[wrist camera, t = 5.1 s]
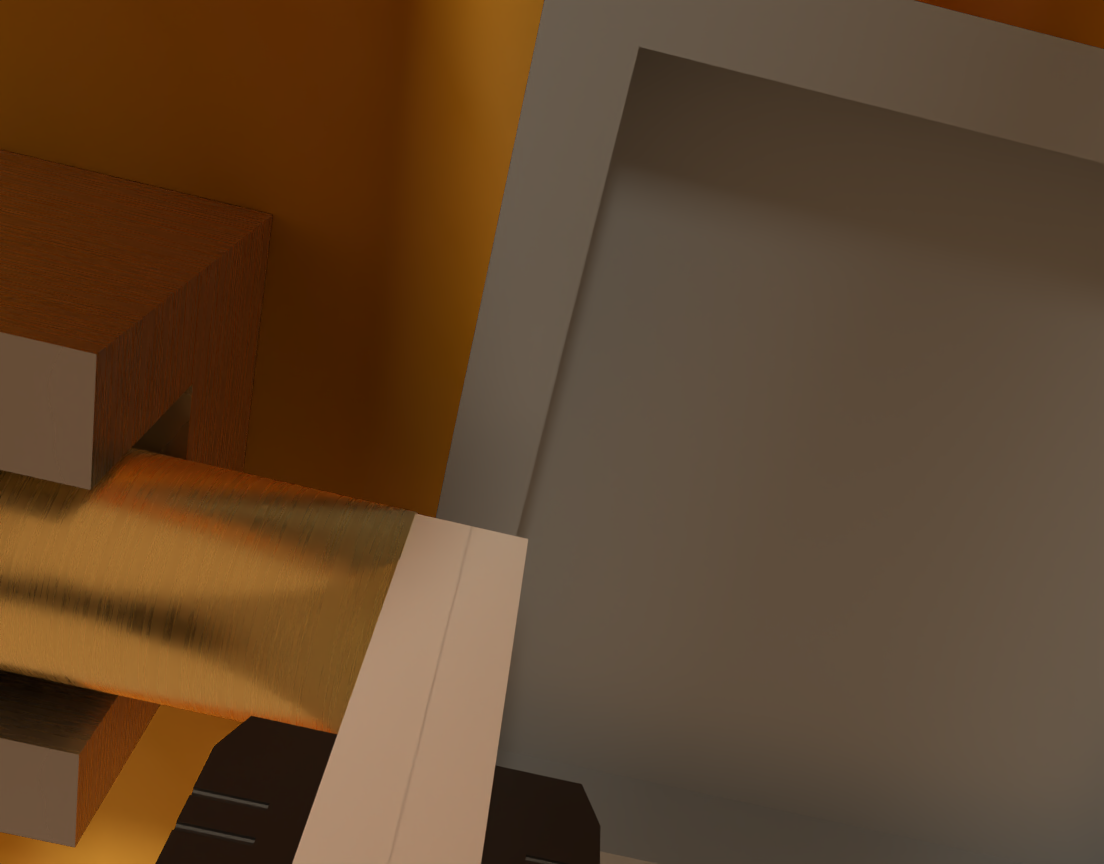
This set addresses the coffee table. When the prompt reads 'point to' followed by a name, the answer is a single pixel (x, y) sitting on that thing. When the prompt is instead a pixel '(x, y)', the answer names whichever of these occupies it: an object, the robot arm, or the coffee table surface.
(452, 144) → the coffee table surface
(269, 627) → the lock pin
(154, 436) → the pin mount
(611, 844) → the grey square tray
